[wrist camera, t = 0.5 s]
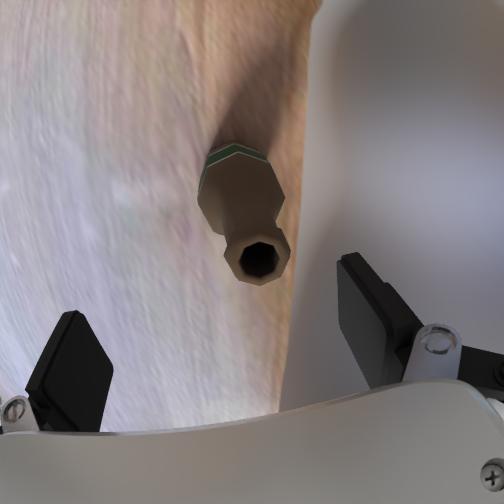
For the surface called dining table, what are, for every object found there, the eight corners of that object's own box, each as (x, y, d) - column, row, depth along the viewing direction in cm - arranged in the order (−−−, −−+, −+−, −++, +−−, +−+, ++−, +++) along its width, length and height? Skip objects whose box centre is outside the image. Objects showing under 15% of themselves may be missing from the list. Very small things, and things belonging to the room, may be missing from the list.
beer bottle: (199, 141, 37) (178, 196, 15) (263, 137, 37) (333, 187, 16) (203, 202, 40) (196, 324, 19) (265, 198, 41) (323, 311, 19)
